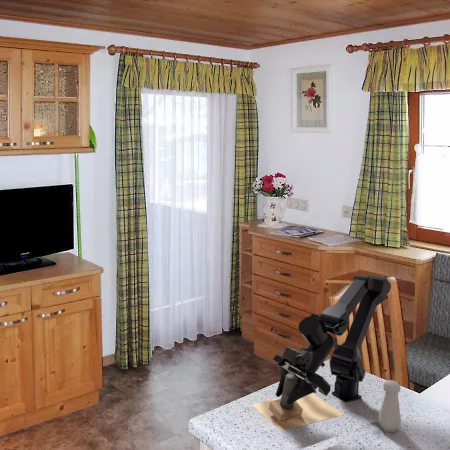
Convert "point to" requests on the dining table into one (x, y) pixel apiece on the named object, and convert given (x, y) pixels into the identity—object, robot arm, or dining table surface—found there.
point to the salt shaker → (390, 407)
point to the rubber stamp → (281, 406)
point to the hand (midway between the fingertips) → (282, 399)
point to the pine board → (311, 412)
